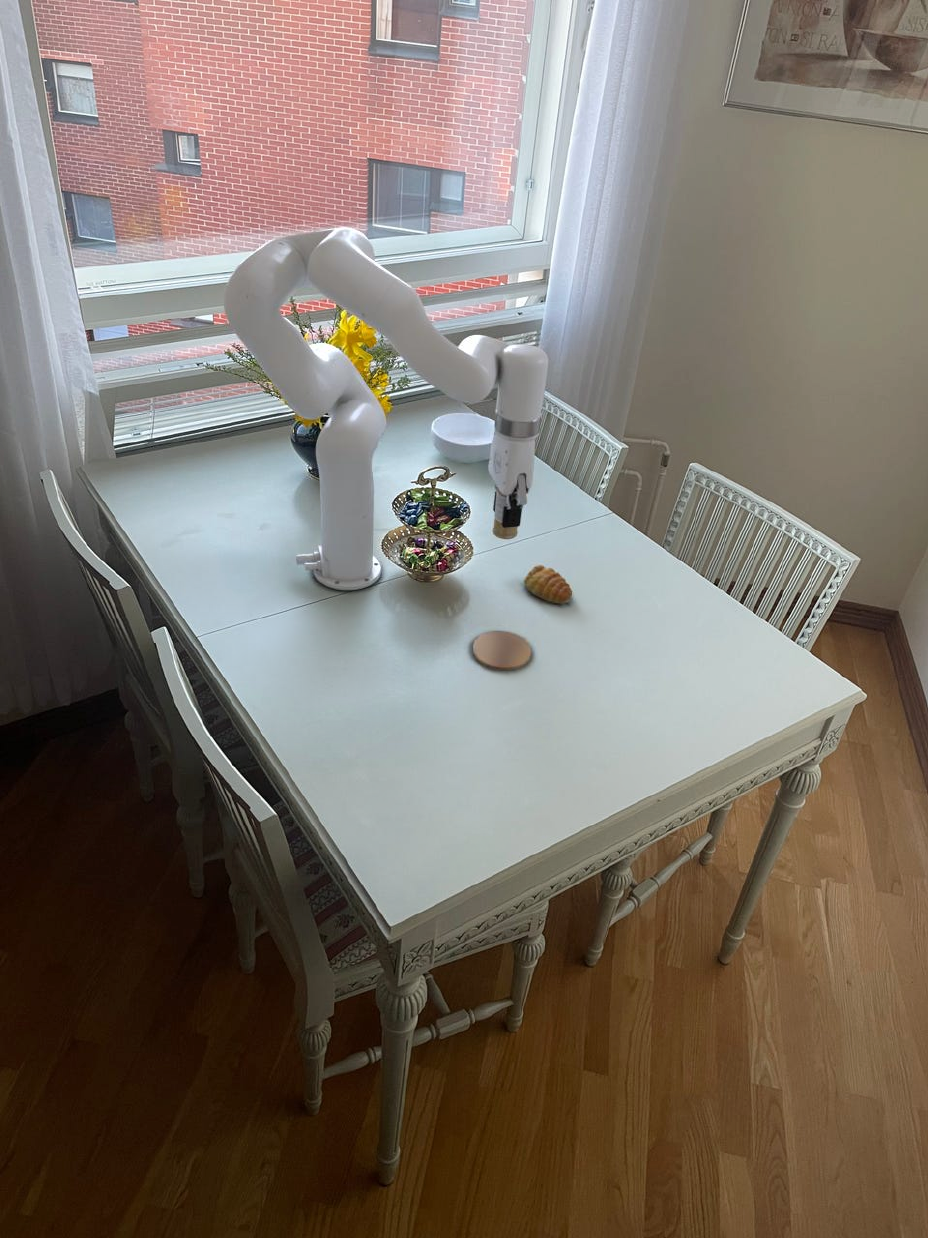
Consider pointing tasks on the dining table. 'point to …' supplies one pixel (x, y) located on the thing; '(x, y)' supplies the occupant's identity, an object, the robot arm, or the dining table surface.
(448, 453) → the cereal bowl
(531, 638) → the dining table surface
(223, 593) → the dining table surface
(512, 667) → the copper coaster
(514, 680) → the dining table surface
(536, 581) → the pastry
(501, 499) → the sprinkles bottle
